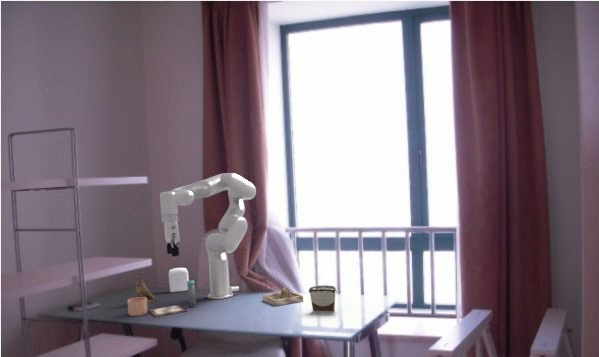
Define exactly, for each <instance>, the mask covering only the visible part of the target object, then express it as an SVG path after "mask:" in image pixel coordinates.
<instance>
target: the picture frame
mask: <svg viewBox="0 0 599 357" xmlns="http://www.w3.org/2000/svg"><path fill="white" fill-rule="evenodd" d="M148 312H149V313H150V314H151V315H152V316H153V317H155V318H157V317H162V316H168V315H169V316H170V315H175V314H180V313H186V312H187V310H186V309H185V308H184V307H183V306H181V305H180V304H177V305H176V304H175V305H171V306H163V307H159V308H152V309H148Z"/></svg>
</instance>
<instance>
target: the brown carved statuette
mask: <svg viewBox="0 0 599 357" xmlns="http://www.w3.org/2000/svg"><path fill="white" fill-rule="evenodd" d="M136 277H137V279H136V286H135V293H136V296H137V297H146V298H147V304H148V303H151V302H155V301H156V297H155V296H154V294H152V293H151V291H150V290H149V289H148V287H147V286H146V284H145V282H144V280H143V279H142V278H141V275H140V273H137V274H136Z"/></svg>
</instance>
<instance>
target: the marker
mask: <svg viewBox="0 0 599 357" xmlns="http://www.w3.org/2000/svg"><path fill="white" fill-rule="evenodd" d="M195 282H196V281H195V280H189V281H187V285H188V291H187V297H188V305H189V308H196V290H195V288H196V287H195V286H196V285H195Z"/></svg>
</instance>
